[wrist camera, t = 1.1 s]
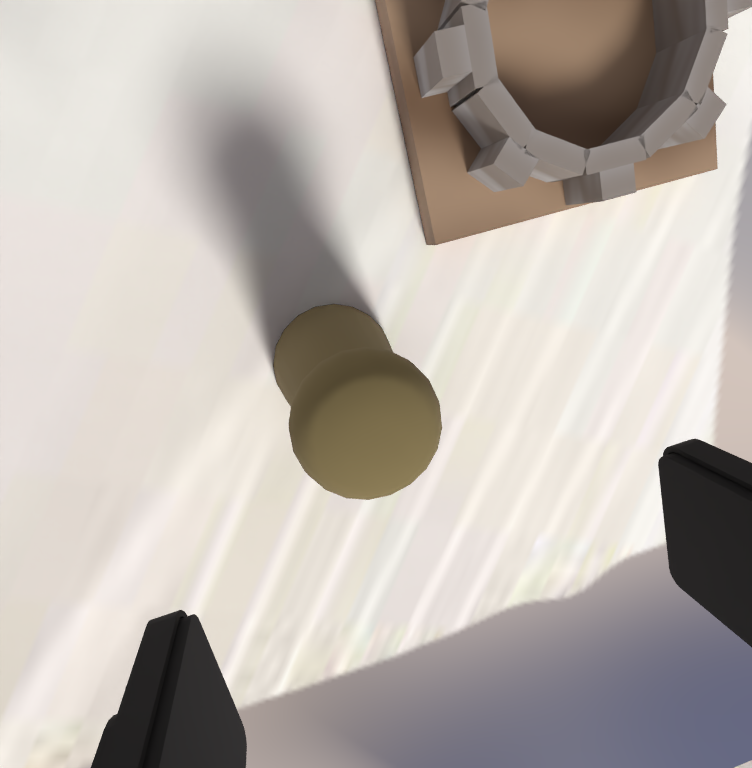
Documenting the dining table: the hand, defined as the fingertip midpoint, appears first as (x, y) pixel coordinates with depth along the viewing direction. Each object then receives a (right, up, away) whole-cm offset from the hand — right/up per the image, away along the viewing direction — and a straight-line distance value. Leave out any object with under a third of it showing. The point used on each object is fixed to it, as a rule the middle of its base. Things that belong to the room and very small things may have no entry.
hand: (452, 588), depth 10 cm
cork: (-4, +5, +17) cm, 18 cm away
